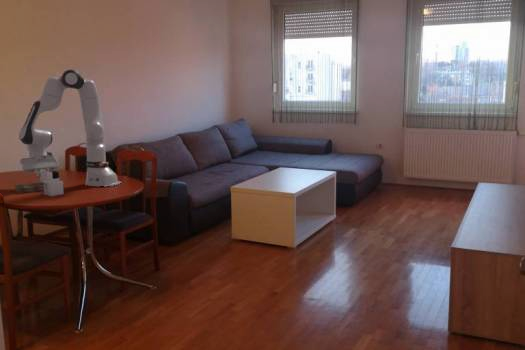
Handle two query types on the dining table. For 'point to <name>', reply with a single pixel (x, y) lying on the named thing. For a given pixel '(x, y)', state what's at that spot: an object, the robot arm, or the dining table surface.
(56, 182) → the container
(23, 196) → the dining table surface
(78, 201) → the dining table surface
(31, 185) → the mixing board
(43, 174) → the fader
